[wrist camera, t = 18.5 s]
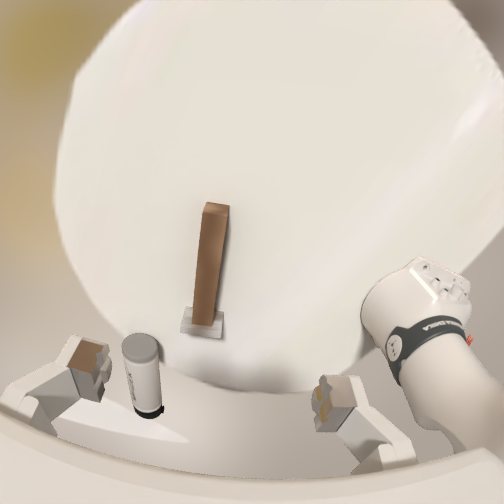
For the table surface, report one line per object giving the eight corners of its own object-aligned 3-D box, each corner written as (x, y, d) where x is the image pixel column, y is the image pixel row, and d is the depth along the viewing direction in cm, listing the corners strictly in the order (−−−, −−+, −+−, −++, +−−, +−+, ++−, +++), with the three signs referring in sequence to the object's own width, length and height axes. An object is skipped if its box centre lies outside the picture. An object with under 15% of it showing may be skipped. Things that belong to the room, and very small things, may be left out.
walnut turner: (240, 207, 41) (239, 220, 36) (222, 317, 49) (220, 338, 44) (195, 200, 40) (188, 213, 36) (185, 311, 48) (180, 332, 44)
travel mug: (161, 334, 51) (165, 399, 60) (125, 330, 50) (135, 395, 59) (157, 360, 46) (163, 422, 55) (118, 355, 44) (132, 418, 53)
